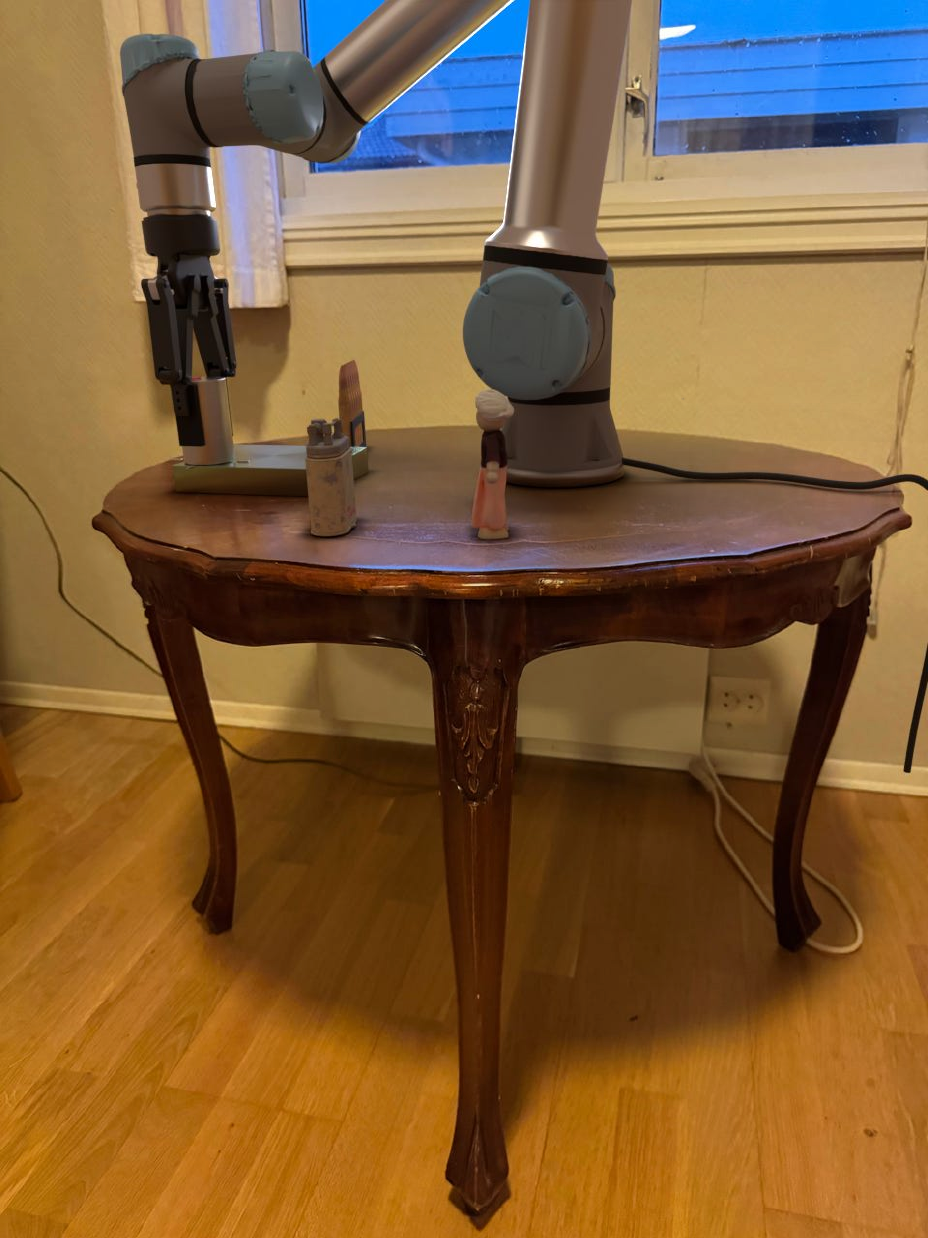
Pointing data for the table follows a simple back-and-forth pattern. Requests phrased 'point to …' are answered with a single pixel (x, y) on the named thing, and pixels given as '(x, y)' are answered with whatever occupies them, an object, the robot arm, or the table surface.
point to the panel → (257, 471)
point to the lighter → (330, 479)
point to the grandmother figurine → (491, 466)
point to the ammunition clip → (351, 405)
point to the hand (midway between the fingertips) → (207, 440)
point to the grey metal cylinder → (212, 424)
